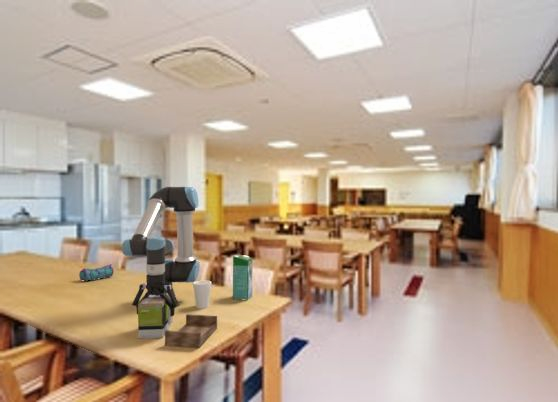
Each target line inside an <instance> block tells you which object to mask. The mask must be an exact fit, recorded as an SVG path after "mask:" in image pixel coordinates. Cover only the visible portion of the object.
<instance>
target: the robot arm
mask: <svg viewBox="0 0 558 402" xmlns="http://www.w3.org/2000/svg"><path fill="white" fill-rule="evenodd" d="M146 205H147V207H146V210H145V212H144V213H143V215H142V218H141V219H140V221H139V223H138V225H137V227H136V230H135V231H134V233H133V235H132V237H131V238H128V239H125V240H123V241H122V244H121V252H122V255H124V256H126V257H127V256H128V257H146V276H145V277H146V283H140V284H139V287H138V291H137V293H136V295H135V297H134V299H133V301H132V303H131V305H132V306H135V307H136V315H138V304H139V303H140V302H141V301H142V300H143V299H144V298H147V297H149V295H156V296H158V295H159V296H160V297H162V298H163V299H165V302H166V304H167V305H168V306H169V309H168V325H170V324H171V325H172V323H173V321H174V320H173V319H174V316H175V313H176V312H175V309H176V308H177V307H179V306H180V304H179V302H178V299H177V297H176V293H175V290H174V287H173V283H187V284H188V283H194V282H196V281H197V279H198V276H199V274H200V266H201V265H200V262H199V261H197V257H196V256H195V255H194V229H193V228H194V223H193V220H194V219H193V218H194V217H193V214H194V213H195V212H196V209H197V208H198V207H199V195H198V192H197V189H196V188H194V187H193V186H166V187H162V188H159V189H158V190H157V191H155V192H154V193H152V195H151V196H150V197H149V199H148V201H147V204H146ZM168 208H170V209H172V208H173V212H174V213H175V214H176V234H177V235H176V239H177V242H176V243H177V248H176V249H177V256H176V257H175V259H174V260H173V258H166V257H167V256H169V255H170V254H172V253H173V252H174V251H175V246H176V245H175V243H174V241H173V240H172V239H170V238H165V237H162V236H154V237H153V236H152V235H153V232H154V230H155V228H156V225H157V224H158V221H159V219H160V217H161V215H162V213H163V212H164V211H165V210H166V209H168ZM145 289H146V290H147V291H146V292H145V294H144V291H145ZM162 293H163V294H162ZM166 293H168V295H169V297H170V298H169V297H168V296H167V294H166ZM143 294H144V295H143ZM170 299H171V300H170ZM171 325H170V326H171Z"/></svg>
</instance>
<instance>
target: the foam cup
mask: <svg viewBox="0 0 558 402" xmlns="http://www.w3.org/2000/svg"><path fill="white" fill-rule="evenodd" d="M192 284H193V291H194V300H195V301H194V302H195V306H196V308H197V309H204V310H205V309H207V308H209V303H210V296H211V291H212V281H210V280H204V279H202V280H196V281H195V282H192Z"/></svg>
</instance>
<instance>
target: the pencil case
mask: <svg viewBox="0 0 558 402" xmlns="http://www.w3.org/2000/svg"><path fill="white" fill-rule="evenodd" d="M78 275H79V276H78V277H79V279H80V281H81V280H84V281H87V282H89V281H88V280H93V281H95V280H94V279H98V278H103V279H105V278H104V277H107V278H109V277H108V276H111V277H112V276H113V275H114V268H113V264H112V263H111V264H106V265H104V266H101V267H97V268H91V269H90V268H88V267H87V268H86V267H85V268H82V269H81V270H80V271H79V273H78Z"/></svg>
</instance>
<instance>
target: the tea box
mask: <svg viewBox="0 0 558 402" xmlns="http://www.w3.org/2000/svg"><path fill="white" fill-rule="evenodd" d="M162 294H163V293H162ZM166 294H167V296H168V297H169V295H168V293H166ZM169 298H170V297H169ZM170 300H171V299H170ZM168 309H169V306H168V305H167V304H166V302H165V299H163V298H162V297H160V296H159V295H158V296H156V295H149V297H147V298H144V299H143V300H142V301H141V302H140V303H139V304H138V314H137V319H138V320H137V321H138V322H137V327H138V329H137V332H138V333H137V335H138V338H137V339H160V338H162V339H163V338H164V337H165V331H166V330H169V328H170V327H171V325H172V323H171V324H170V325H168Z"/></svg>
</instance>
